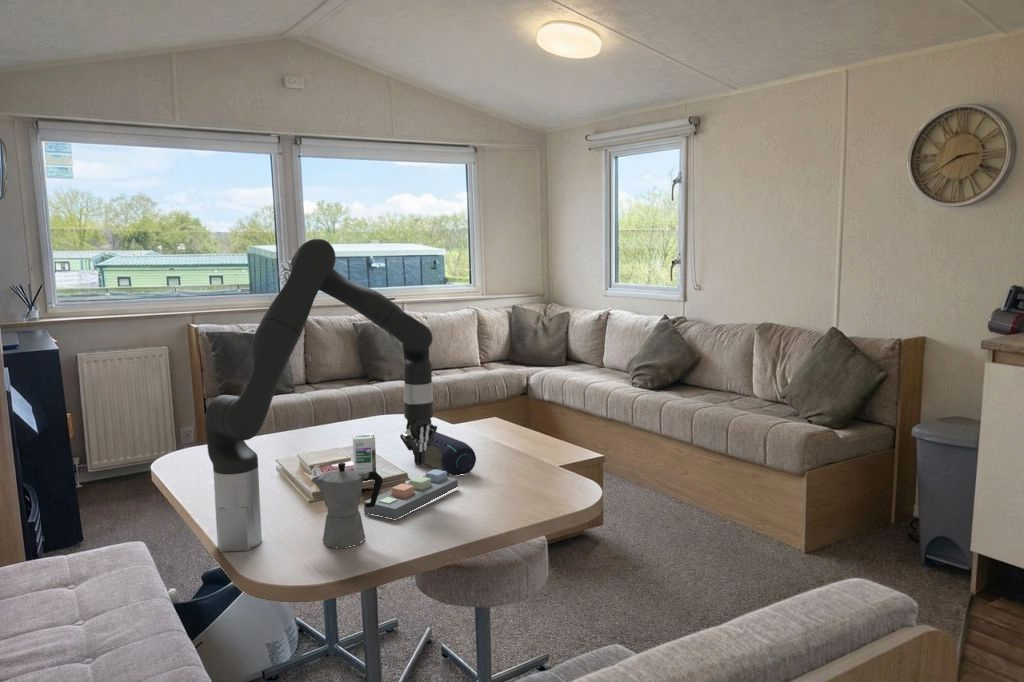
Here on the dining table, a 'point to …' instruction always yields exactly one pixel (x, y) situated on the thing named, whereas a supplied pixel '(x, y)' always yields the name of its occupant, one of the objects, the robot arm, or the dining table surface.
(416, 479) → the sage button
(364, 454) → the syrup box
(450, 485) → the button panel
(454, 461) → the portable speaker
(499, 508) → the dining table surface
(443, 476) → the slate button
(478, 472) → the dining table surface
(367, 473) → the coffeepot
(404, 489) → the terracotta button
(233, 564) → the dining table surface
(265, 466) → the dining table surface
